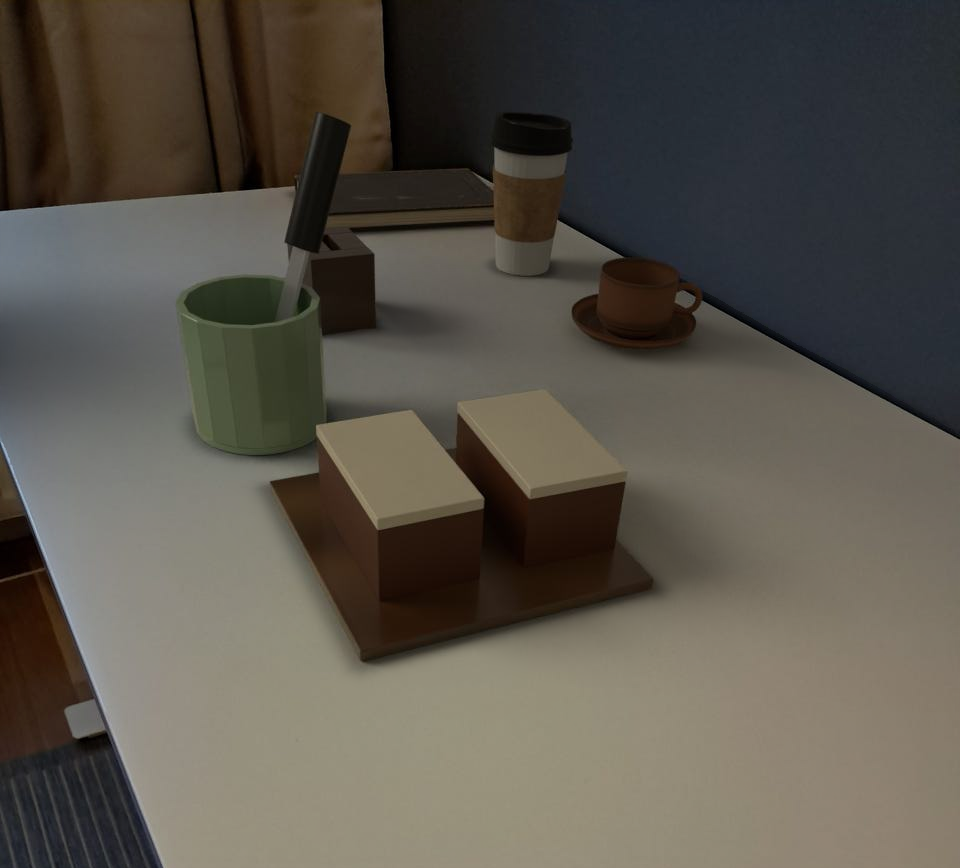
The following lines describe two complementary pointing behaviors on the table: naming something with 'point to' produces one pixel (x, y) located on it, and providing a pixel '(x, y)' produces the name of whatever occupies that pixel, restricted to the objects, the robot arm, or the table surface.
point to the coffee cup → (528, 188)
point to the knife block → (343, 281)
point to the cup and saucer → (637, 306)
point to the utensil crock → (252, 364)
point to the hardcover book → (409, 200)
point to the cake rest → (400, 503)
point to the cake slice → (540, 476)
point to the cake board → (454, 607)
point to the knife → (312, 203)
